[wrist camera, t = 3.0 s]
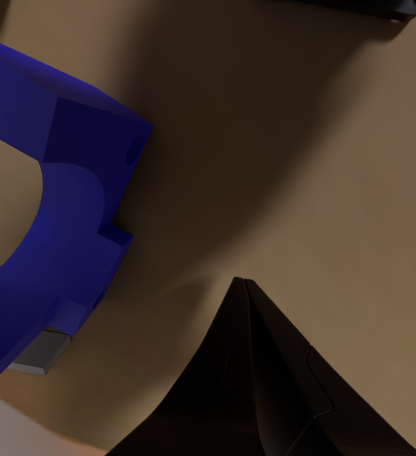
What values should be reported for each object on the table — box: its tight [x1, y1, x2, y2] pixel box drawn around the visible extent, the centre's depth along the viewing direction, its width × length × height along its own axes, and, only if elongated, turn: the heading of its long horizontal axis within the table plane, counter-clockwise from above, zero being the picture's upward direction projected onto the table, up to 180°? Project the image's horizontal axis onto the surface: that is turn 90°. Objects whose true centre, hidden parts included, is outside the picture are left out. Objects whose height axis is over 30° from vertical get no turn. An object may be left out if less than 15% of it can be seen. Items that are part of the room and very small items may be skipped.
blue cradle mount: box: [0, 43, 153, 374], centre depth 9 cm, size 12×4×6 cm, turn 149°
